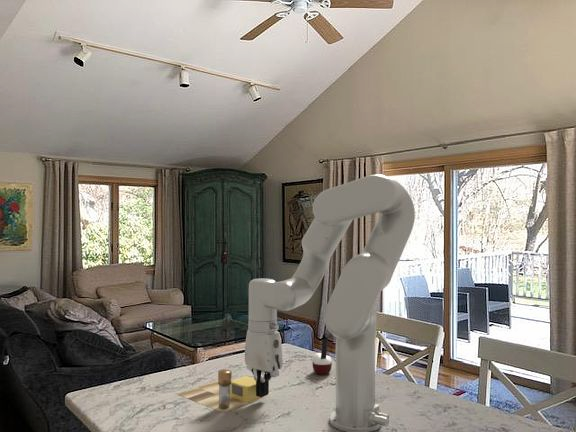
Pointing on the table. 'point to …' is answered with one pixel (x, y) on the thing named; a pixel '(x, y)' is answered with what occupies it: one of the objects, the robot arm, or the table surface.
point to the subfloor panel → (212, 397)
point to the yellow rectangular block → (243, 389)
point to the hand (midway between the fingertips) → (262, 395)
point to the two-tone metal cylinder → (224, 388)
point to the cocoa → (322, 360)
